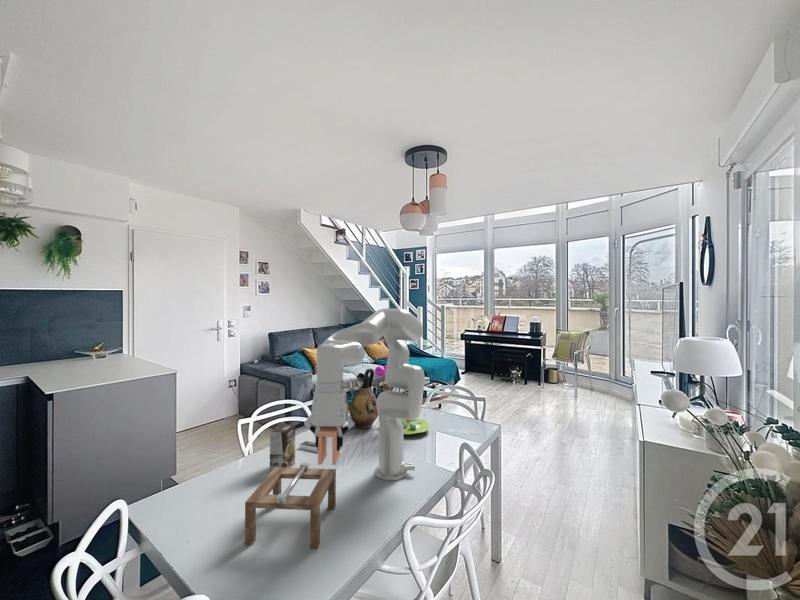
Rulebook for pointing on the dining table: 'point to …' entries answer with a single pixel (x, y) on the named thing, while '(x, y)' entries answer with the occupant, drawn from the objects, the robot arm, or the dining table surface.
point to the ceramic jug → (364, 402)
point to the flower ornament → (408, 425)
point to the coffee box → (282, 446)
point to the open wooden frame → (292, 499)
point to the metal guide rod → (292, 484)
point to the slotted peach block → (322, 444)
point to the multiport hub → (308, 446)
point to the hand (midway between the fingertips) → (329, 448)
